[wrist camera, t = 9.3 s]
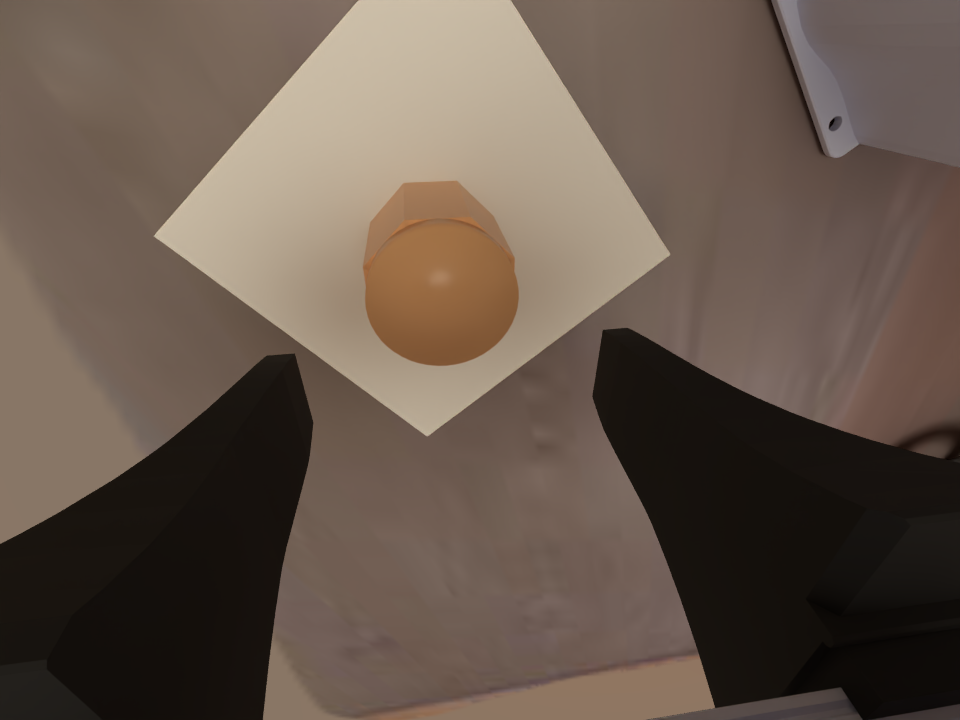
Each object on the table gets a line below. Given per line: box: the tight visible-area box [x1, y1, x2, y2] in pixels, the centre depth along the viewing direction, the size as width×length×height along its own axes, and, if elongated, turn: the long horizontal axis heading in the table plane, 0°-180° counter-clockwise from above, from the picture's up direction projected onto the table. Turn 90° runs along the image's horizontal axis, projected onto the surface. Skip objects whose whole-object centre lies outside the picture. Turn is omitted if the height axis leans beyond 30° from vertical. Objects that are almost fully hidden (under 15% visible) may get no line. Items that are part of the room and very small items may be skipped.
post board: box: [154, 0, 670, 436], centre depth 17 cm, size 14×14×5 cm
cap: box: [363, 181, 519, 366], centre depth 16 cm, size 5×5×5 cm
